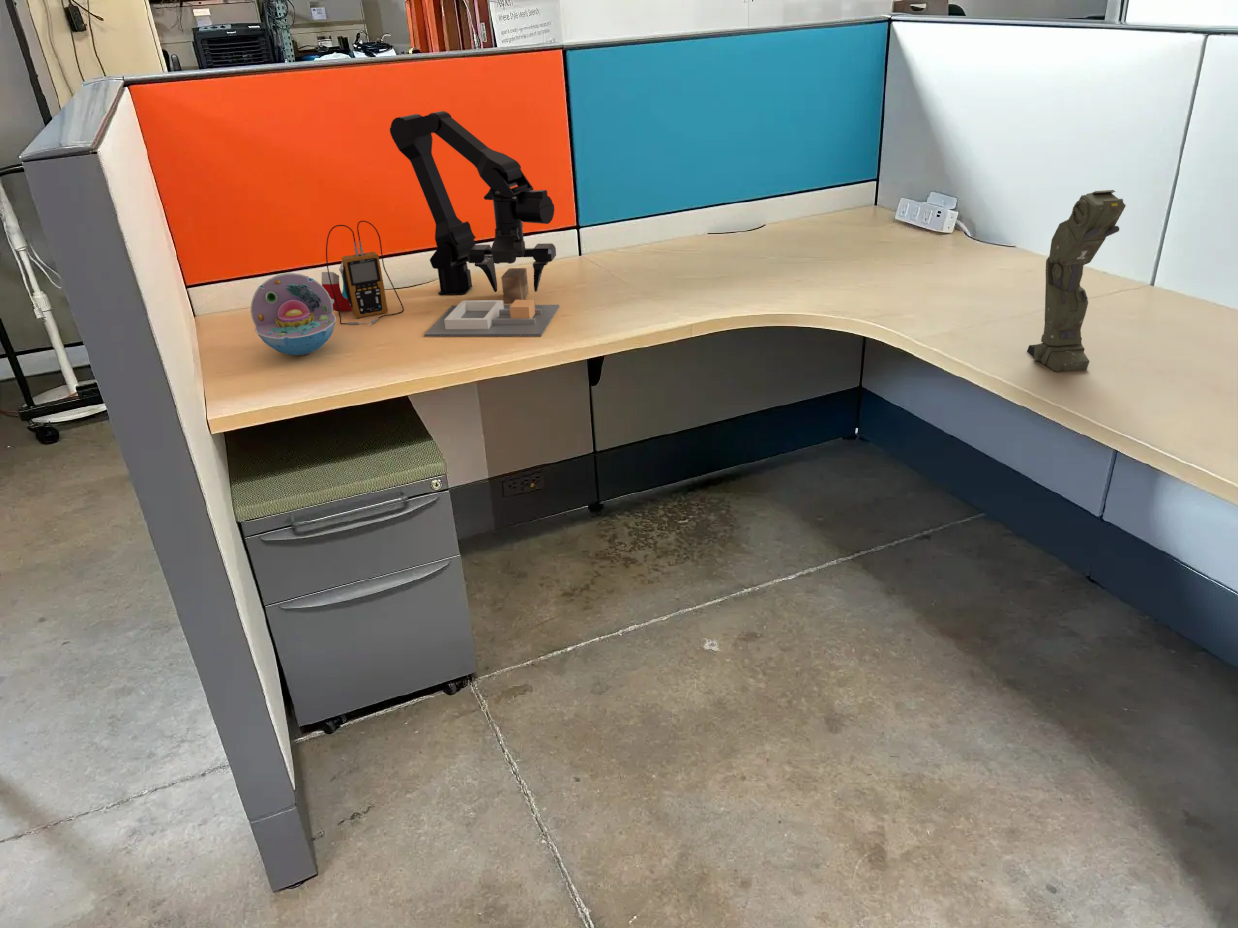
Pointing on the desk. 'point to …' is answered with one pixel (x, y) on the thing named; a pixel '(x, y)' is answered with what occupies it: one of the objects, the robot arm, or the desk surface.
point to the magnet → (336, 290)
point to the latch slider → (522, 309)
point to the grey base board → (490, 320)
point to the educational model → (293, 314)
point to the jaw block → (515, 284)
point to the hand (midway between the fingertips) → (515, 291)
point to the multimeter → (363, 282)
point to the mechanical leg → (1073, 279)
